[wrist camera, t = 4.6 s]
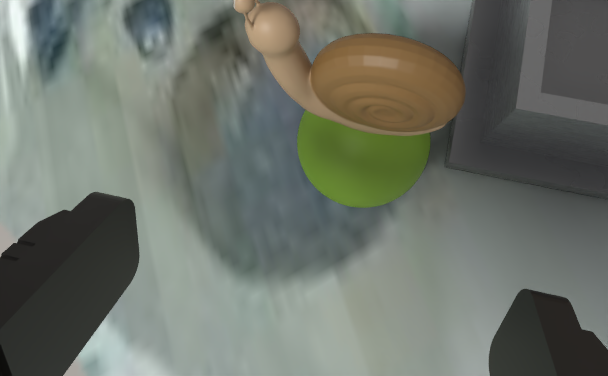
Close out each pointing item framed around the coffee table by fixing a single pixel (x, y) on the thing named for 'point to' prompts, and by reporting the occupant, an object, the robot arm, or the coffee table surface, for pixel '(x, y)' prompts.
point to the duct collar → (535, 94)
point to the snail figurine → (358, 104)
